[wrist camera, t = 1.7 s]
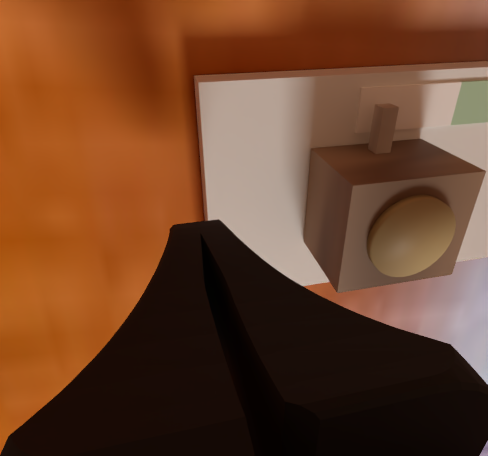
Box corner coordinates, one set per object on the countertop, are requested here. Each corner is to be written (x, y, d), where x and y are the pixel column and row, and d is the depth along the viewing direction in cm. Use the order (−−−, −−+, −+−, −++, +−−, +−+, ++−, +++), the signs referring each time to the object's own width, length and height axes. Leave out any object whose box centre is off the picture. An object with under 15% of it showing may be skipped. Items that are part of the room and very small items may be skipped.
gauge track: (602, 55, 14) (640, 59, 13) (525, 234, 19) (549, 248, 17) (194, 75, 12) (198, 83, 11) (209, 281, 16) (213, 301, 15)
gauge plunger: (430, 96, 12) (512, 123, 10) (400, 228, 15) (458, 279, 12) (314, 104, 12) (366, 135, 9) (303, 241, 14) (341, 299, 11)
